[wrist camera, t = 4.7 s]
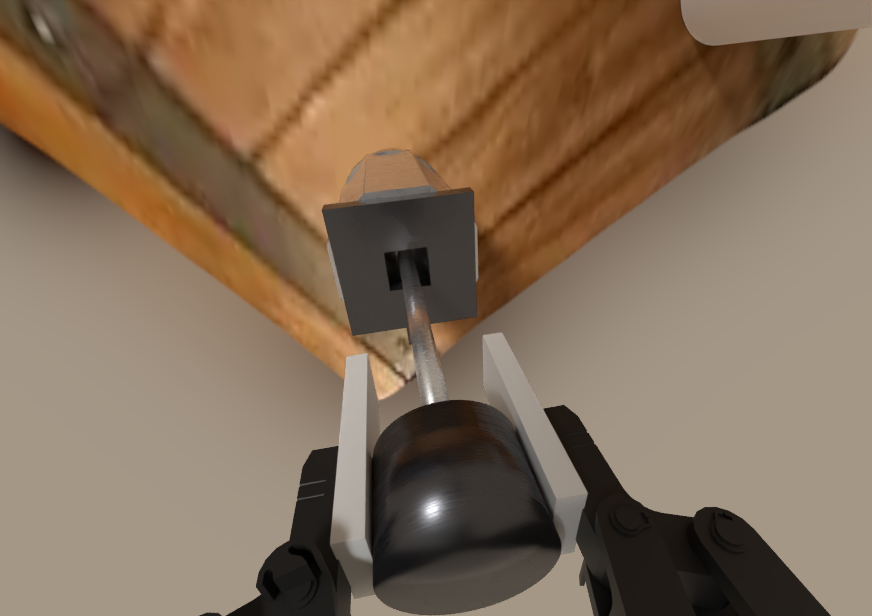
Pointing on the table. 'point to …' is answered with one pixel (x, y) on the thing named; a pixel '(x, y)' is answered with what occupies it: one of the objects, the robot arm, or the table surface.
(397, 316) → the press carafe
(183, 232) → the table surface
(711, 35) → the cylinder container
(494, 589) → the plunger
